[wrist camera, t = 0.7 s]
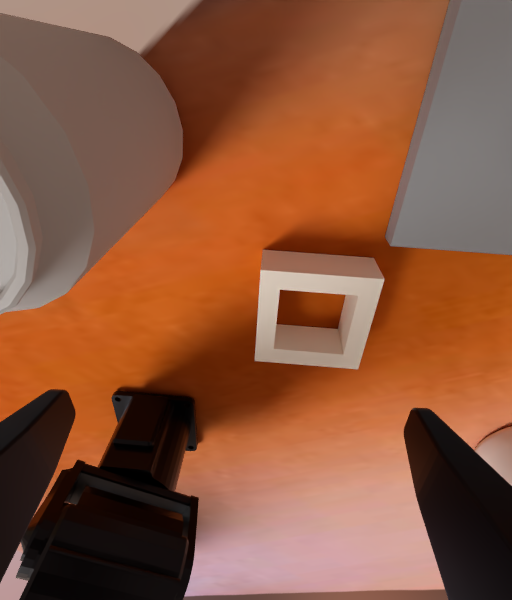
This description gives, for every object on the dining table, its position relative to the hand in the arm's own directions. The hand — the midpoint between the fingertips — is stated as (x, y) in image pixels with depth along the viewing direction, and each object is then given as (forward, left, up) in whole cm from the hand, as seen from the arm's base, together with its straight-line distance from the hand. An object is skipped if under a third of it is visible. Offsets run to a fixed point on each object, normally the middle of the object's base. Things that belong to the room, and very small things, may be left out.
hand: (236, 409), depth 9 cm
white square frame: (-4, -3, -12) cm, 14 cm away
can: (+5, +8, -13) cm, 15 cm away
